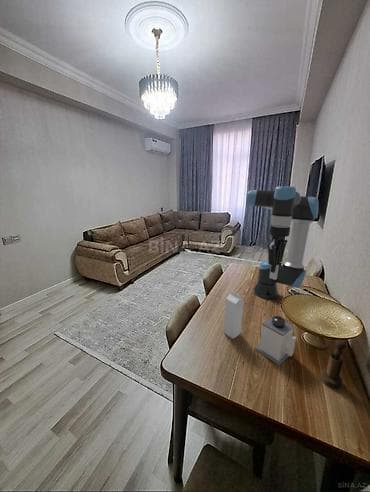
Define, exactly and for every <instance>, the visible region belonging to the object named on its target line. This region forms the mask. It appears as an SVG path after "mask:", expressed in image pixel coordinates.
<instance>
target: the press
mask: <svg viewBox="0 0 370 492" xmlns="http://www.w3.org/2000/svg"><path fill="white" fill-rule="evenodd" d="M274 316H275V315H271V317H269V318H268V319H266V320H265V321H264V322H262V323H261V324H262V325H261V332H260V339H259V345H258V346H256V347H255V351H257V352H258V353H260V354H261V355H263V356H264V357H266V358H267V359H269V360H270V361H271V362H273V363H274V364H276V365H278V366H279V367H280V366H281V365H282V364H283V363H284V362H285V361H286V360H287V359H288V358H289V357H293V355H294V351H295V345H296V342H297V337H296V336H295V335H293V331H294V325H293V324H291V323H289V322H287V321H285V326H284V328H276V327H274V326H273V325H272V317H274Z"/></svg>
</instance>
